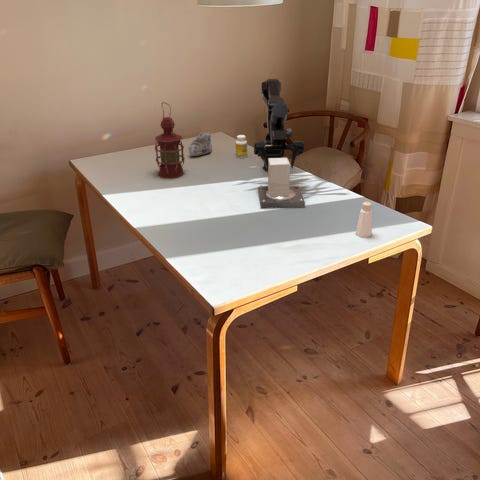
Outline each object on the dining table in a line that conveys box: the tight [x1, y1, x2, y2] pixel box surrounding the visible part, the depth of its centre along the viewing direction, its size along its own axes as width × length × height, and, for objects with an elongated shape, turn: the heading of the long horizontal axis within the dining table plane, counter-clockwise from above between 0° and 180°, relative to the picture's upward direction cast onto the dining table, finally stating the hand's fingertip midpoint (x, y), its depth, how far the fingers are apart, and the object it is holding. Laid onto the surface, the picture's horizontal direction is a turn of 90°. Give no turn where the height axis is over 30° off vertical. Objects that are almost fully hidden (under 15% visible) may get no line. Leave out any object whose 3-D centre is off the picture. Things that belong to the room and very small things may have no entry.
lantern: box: [154, 101, 185, 179], centre depth 214 cm, size 12×12×30 cm
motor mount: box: [257, 184, 306, 209], centre depth 196 cm, size 16×16×3 cm
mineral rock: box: [188, 132, 213, 157], centre depth 243 cm, size 13×11×10 cm
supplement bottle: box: [234, 134, 248, 159], centre depth 239 cm, size 5×5×10 cm
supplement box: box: [267, 157, 291, 197], centre depth 193 cm, size 7×7×13 cm
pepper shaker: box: [355, 201, 373, 238], centre depth 168 cm, size 5×5×11 cm
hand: (279, 168), depth 196 cm, fingers open, 9 cm apart
